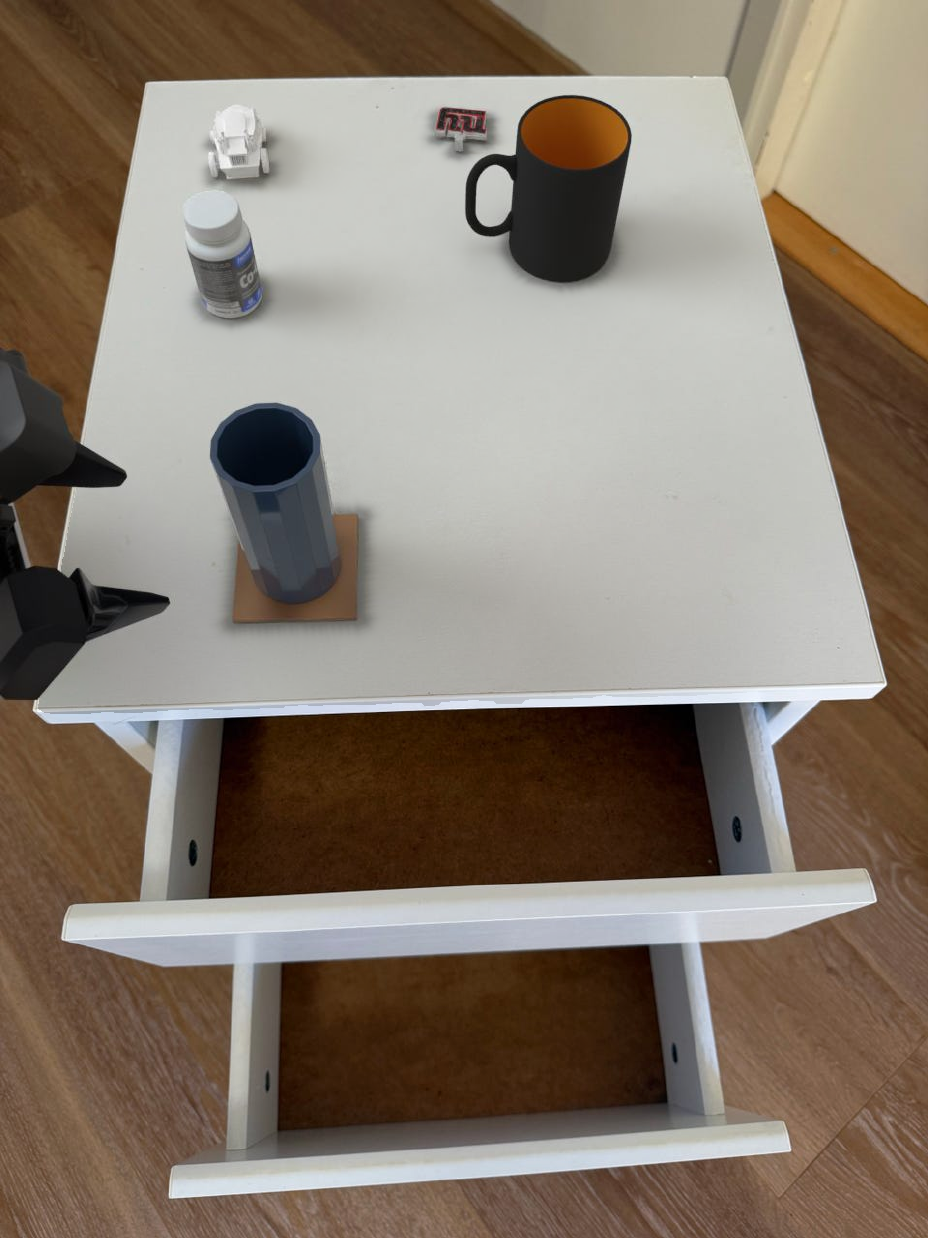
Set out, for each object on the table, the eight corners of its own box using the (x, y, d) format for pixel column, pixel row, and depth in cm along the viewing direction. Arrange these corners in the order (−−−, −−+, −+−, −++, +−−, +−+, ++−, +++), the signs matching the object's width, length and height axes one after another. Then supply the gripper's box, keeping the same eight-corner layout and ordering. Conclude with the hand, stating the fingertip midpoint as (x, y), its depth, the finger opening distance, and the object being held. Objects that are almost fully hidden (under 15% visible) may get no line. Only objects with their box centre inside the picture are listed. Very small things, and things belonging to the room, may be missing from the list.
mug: (456, 217, 81) (458, 102, 72) (598, 205, 82) (618, 89, 73) (471, 291, 77) (475, 179, 68) (620, 277, 78) (643, 165, 69)
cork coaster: (233, 623, 64) (232, 620, 63) (241, 519, 67) (240, 515, 67) (356, 620, 64) (356, 617, 64) (357, 516, 68) (357, 513, 67)
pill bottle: (259, 321, 75) (239, 233, 68) (198, 319, 75) (171, 231, 68) (266, 275, 78) (248, 186, 70) (207, 273, 78) (181, 184, 70)
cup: (236, 588, 64) (191, 473, 53) (273, 516, 67) (237, 390, 55) (321, 615, 64) (294, 504, 52) (355, 540, 66) (336, 419, 55)
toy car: (213, 191, 82) (202, 147, 78) (210, 127, 85) (200, 83, 82) (271, 186, 82) (263, 142, 78) (265, 123, 86) (258, 79, 82)
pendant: (490, 108, 86) (485, 142, 83) (490, 120, 87) (484, 154, 84) (439, 103, 86) (432, 137, 83) (439, 115, 87) (432, 149, 84)
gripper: (-50, 549, 37) (275, 590, 49) (-127, 222, 44) (171, 327, 56) (-155, 705, 42) (161, 706, 54) (-207, 390, 50) (80, 452, 62)
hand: (144, 540), depth 56 cm, fingers open, 9 cm apart
